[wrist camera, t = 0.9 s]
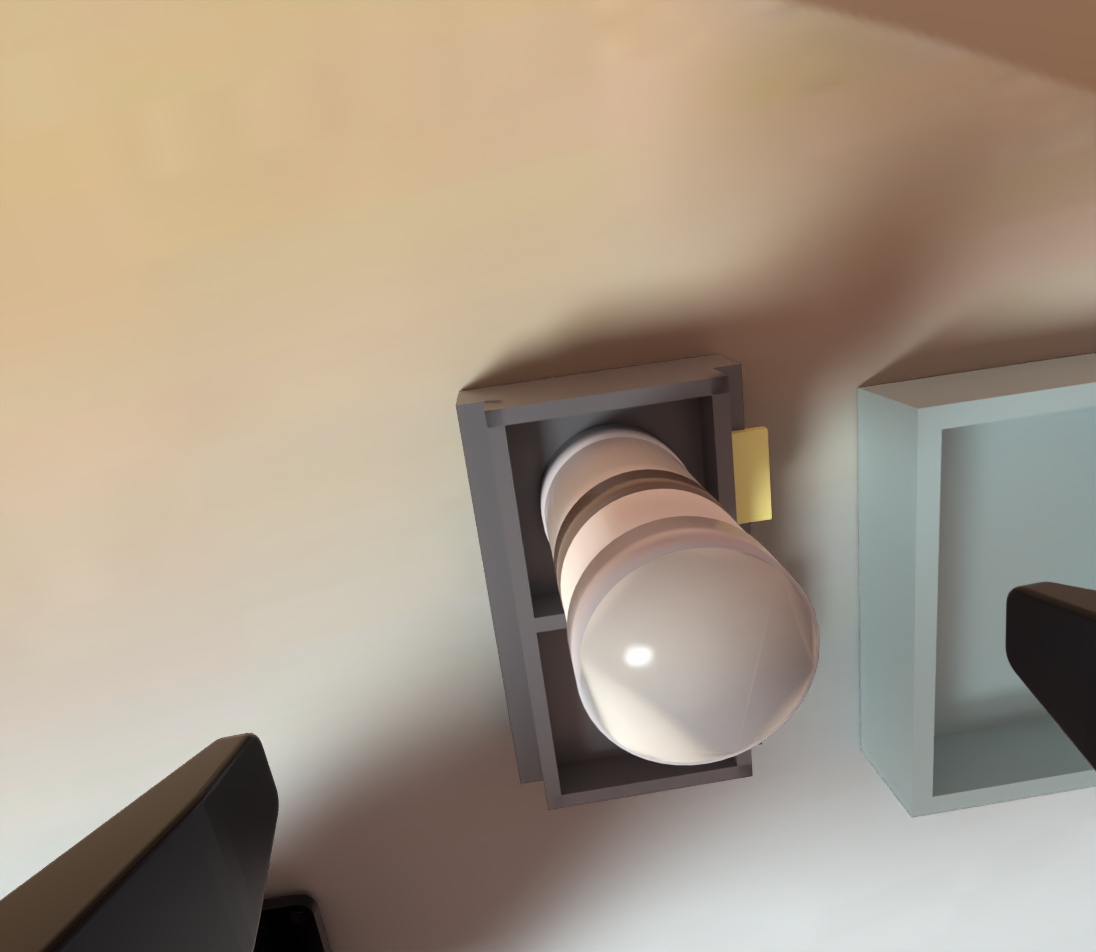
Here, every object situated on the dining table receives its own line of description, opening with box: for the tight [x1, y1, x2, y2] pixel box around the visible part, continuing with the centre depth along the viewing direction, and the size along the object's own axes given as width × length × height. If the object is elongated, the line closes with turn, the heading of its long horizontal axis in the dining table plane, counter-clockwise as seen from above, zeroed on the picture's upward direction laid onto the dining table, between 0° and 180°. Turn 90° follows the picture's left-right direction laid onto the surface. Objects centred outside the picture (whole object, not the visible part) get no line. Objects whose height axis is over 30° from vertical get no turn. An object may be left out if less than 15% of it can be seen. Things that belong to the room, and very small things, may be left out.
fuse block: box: [456, 354, 772, 810], centre depth 20 cm, size 11×8×3 cm
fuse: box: [539, 424, 819, 765], centre depth 15 cm, size 4×4×8 cm
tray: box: [858, 353, 1096, 817], centre depth 21 cm, size 12×9×3 cm
